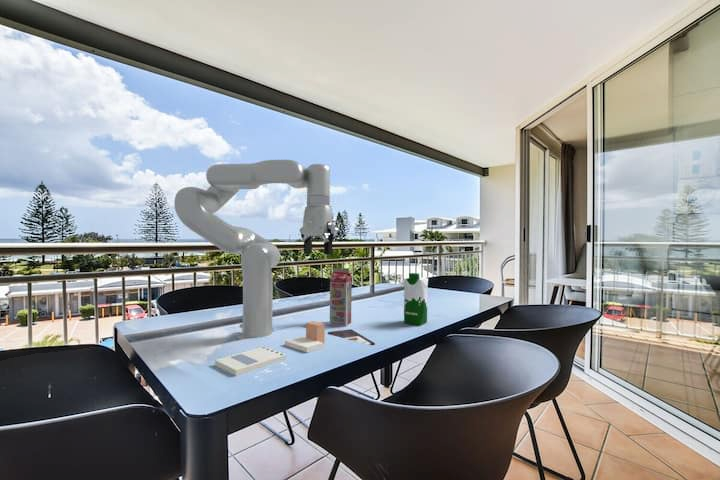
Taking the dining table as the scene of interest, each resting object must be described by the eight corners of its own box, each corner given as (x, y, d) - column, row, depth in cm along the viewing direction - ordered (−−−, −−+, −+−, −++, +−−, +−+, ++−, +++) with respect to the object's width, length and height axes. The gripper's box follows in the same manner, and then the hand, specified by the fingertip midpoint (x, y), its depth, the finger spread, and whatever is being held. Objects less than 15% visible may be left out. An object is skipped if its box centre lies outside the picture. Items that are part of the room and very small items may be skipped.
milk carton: (401, 323, 132) (401, 273, 132) (410, 319, 140) (410, 271, 140) (421, 326, 127) (422, 274, 127) (430, 322, 135) (430, 273, 135)
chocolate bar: (351, 329, 121) (374, 343, 104) (351, 331, 121) (374, 346, 104) (328, 331, 117) (348, 346, 100) (328, 334, 117) (348, 349, 100)
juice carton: (335, 321, 134) (336, 267, 134) (351, 322, 132) (351, 267, 132) (329, 325, 128) (330, 268, 128) (345, 326, 126) (346, 269, 126)
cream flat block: (215, 366, 82) (215, 359, 82) (263, 352, 93) (263, 346, 93) (236, 376, 76) (236, 369, 76) (286, 360, 86) (286, 354, 86)
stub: (284, 345, 98) (285, 325, 98) (308, 338, 105) (308, 319, 105) (307, 352, 92) (307, 331, 92) (330, 345, 99) (330, 325, 99)
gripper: (292, 203, 112) (292, 253, 112) (328, 199, 101) (327, 255, 101) (309, 205, 118) (308, 252, 118) (345, 201, 107) (344, 254, 107)
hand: (317, 253), depth 110 cm, fingers open, 9 cm apart
